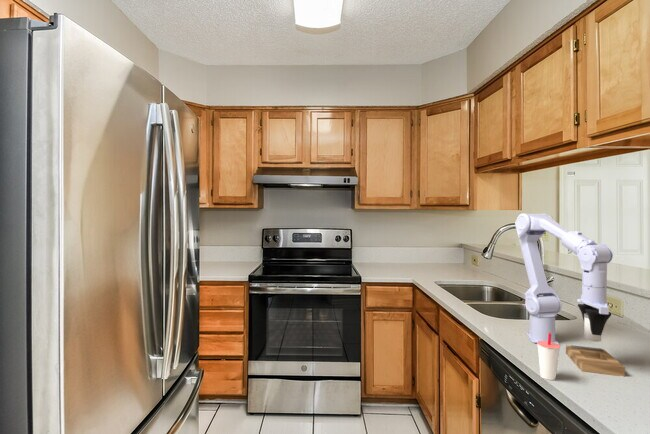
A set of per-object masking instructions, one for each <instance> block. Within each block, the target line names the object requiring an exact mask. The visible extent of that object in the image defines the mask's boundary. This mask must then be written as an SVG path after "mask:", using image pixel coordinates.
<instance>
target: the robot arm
mask: <svg viewBox="0 0 650 434" xmlns="http://www.w3.org/2000/svg"><path fill="white" fill-rule="evenodd" d="M514 226H515V230H516V232H517V236H518V242H519V247H520V250H521V255H522V259H523V262H524V266H525V271H526V275H527V278H528V283H529V288H528V289H527V290H526V291H525V292H524V297H525V304H524V305H525V308H526V310H527V312H528V314H530V315H529V318H528V320H529V322H528V324H529V325H528V326H529V327H528V331H529V332H528V331H527V332H525V334H526V335H527V337H528V339H529V340H530V341H531V342H532V344H533V343H534V344H537V342H538V341H548V334H549V333H550V334H551V342H553V343H556V344H558V345H560V343H559V342H558V341H557V340H556V317H558V314H559V313H560V312H561V310H562V306H563V305H562V302H561V298H559V296H558V294H557V291H556V290H555V289H554V288H553V287H551V286H550V285H549V284H548V280H547V276H546V272H545V268H544V265H543V261H542V257H541V254H540V251H539V246H538V240H540V238H542V237H543V236H544V234H545V233H549V234H550V235H552V236H554V237H556V238H557V239H559V240H561V245H562V246H563V247H565V248H566V249H568V250H569V251H570V252H572V253H574V254H575V255H576V257H577V259H578V261H579V262H580V268H581V271H582V272H581V276H582V277H581V294H580V298H577V299H576V301H577V302H578V304H577V306H578V309H579V311H580V313H581V315H582V320H583V321H584V314H585V313H587V315H588V317H589V321H590V328H591V333H592V334H593V335H601V336H602V334H603V331H604V328H605V325H606V323H607V321H608V320H609V319H610V318H611V316H612V313H611V312H610V307H609V306H608V302H607V291H608V289H607V287H608V286H607V285H608V284H607V283H608V264H609V263H610V262H612V260H613V258H614V257H613V256H614V253H613V251H612V249H611V248H610V247H609V246H608V245H607V244H605V243H599V244H598V243H596V241H595V240H594V239H590V238H588V237H586V236H585V235H583V233H582V231H580V230H571V231H569V230H568V229H567V228H565V227H564V226H562V225H561V224H560V223H558V222H557V221H555V219H553V216H550V215H549V214H547V213H519V215H518V216H517V218H516V220H515V222H514Z"/></svg>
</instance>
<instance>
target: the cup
mask: <svg viewBox="0 0 650 434" xmlns="http://www.w3.org/2000/svg"><path fill="white" fill-rule="evenodd" d="M536 345H537V351H538V353H537V354H538V365H539V373H540V377H541V378H543V380H547V381H554V380H556V376H557V372H558V371H557V370H558V362H559V356H560V348H561V345H560V344H559V345H558V344H556V343H553V342H551V334H550V333H549V334H548V341H538V342H537V343H536Z"/></svg>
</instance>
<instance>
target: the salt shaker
mask: <svg viewBox="0 0 650 434" xmlns="http://www.w3.org/2000/svg"><path fill="white" fill-rule="evenodd" d="M583 324H584V325H583V326H584V327H583V328H584V329H583V338H584V339H585V340H587V341H591V342H594V343H595V342H596V343H597V342H602V334H601V335H593V334H592V333H591V328H590V321H589V317H588V315H587V313H585V314H584V320H583Z"/></svg>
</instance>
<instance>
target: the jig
mask: <svg viewBox="0 0 650 434" xmlns="http://www.w3.org/2000/svg"><path fill="white" fill-rule="evenodd" d="M565 354H566V355H567V356H568V358H569V359H570V360H571V361H572V362H573V363H574V364H575V365H576V367H577V368H578V369H579V370H580V371H581V372H586V373H594V374H600V375H601V374H603V375H611V376H617V377H619V376H620V377H625V374H626V372H625V371H626V367H625V366H624V365H623V364H622V363H621V362H619V360H617V359H616V358H614V357H613V356H612V355H611V354H610V353H609V352H608V351H606V350H605V349H604V348H599V347H593V346H592V347H589V346H581V345H570V344H569V345H567V344H565Z"/></svg>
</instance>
